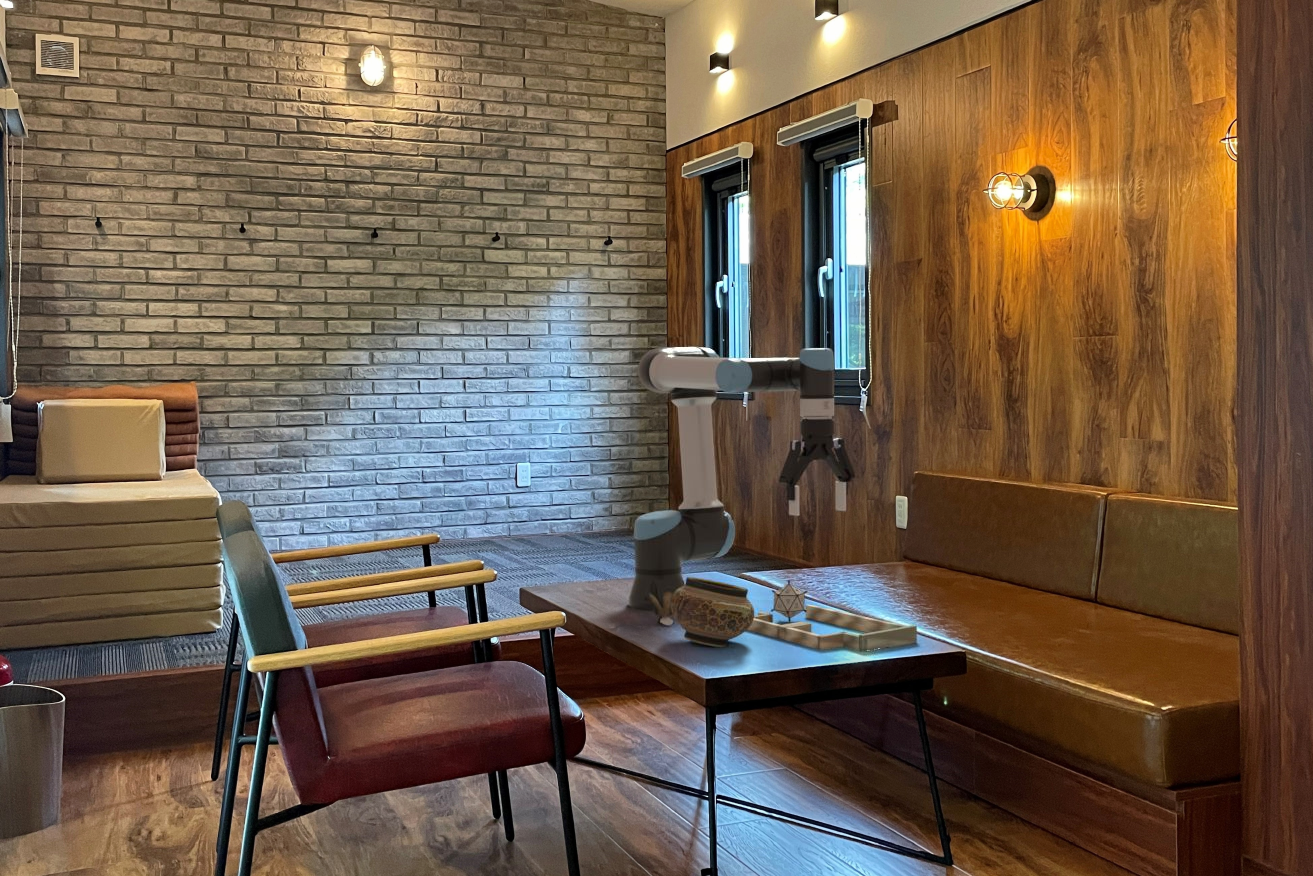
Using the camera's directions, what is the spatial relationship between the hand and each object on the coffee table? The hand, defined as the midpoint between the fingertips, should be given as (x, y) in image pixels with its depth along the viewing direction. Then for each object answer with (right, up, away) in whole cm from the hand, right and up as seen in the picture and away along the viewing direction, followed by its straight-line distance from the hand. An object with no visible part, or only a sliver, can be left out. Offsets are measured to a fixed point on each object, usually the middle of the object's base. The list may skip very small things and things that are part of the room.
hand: (817, 512), depth 272 cm
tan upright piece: (-35, -27, +9) cm, 45 cm away
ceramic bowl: (-24, -28, -12) cm, 39 cm away
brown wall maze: (+1, -27, -4) cm, 27 cm away
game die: (-5, -26, +11) cm, 29 cm away
